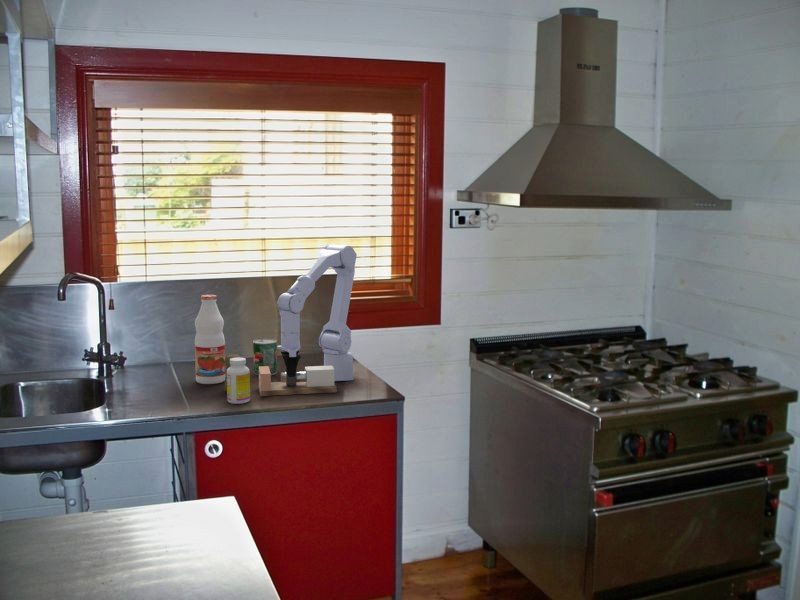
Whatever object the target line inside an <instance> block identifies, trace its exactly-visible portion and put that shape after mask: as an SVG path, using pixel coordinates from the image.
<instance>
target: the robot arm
mask: <svg viewBox="0 0 800 600" xmlns="http://www.w3.org/2000/svg"><path fill="white" fill-rule="evenodd" d="M356 260H357V252H356V251H355V249H354V247H353V246H351V245H338V244H333V243H331V244H330V243H329V244H325V245H324V247H323V249H321V250H320V253H319V257H318V258H317V260H316V262H315V263H314V264H313V266H312V267H311V268H310V269H309V271H308V273H306V274H305V275H301V276H298V277H297V279H296V281H295V282H294V283H293V285H291V287H290V288H289V289H288V290H287V292H284V293H282V294H281V295H279V297H278V298H277V301H276V303H275V305H276V307H277V309H278V310H279V311H278V312H279V316H280V345H277V350H280V353H281V356H282V359H283V361H284V365H285V364H286V369H287V375H288V377H295V374H296V372H297V368H298V365H299V361H300V359H301V357H302V356H301V355H302V354H299V353H300V350H301V341H300V340H301V339H300V338H301V335H300V334H301V331H300V328H301V326H300V325H301V324H300V319H301V317H300V315H301V314H300V312H301V311H302V310H303V309H304V306H305V302H306V299H307V298H308V297H309V296H310V294H311V293H312V292H313V291H314V290H315V288H316V282H317V281H318V280H319V279H320V278H321V277H322V276H323V275H324V274H325V273H326V272H327V271H328V270H329V269H330V268H331V269H333V270H334V272H335V273H336V275H337V276H336V281H335V285H334V292H333V298H332V306H331V310H330V316H329V321H328V322H327V323H326V324H324V325H323V326H322V331H321V333H320V335H319V336H318V344H319V346H320V348H321V349H322V352H323V353H324V354H323V356H324V357H323V366H333V368H334V382H342V381H344V382H345V381H354V358H353V357H354V355H353V352H352V351H349V350H350V348H351V346H352V330H351V329H350V328H349V326H348V325H347V319H348V313H349V308H350V301H351V297H352V290H353V284H354V279H355V274H356V273H355V271H356V270H355V267H356Z"/></svg>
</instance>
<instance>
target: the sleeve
mask: <svg viewBox="0 0 800 600" xmlns="http://www.w3.org/2000/svg"><path fill="white" fill-rule="evenodd" d="M304 372H307V382H305V384H306V386H307V387H316V386H334V384H335V381H334V368H333V366H324V365H314V366H313V365H312V366H305V367H304Z"/></svg>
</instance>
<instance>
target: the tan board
mask: <svg viewBox="0 0 800 600" xmlns="http://www.w3.org/2000/svg"><path fill="white" fill-rule="evenodd" d="M257 384H258V388H257V389H258V391H259V396H260V397H266V396H267V397H268V396H269V397H270V396H283V395H284V396H285V395H288V396H290V395H303V394H304V395H306V394H307V395H310V394H328V393H337V392H338V389H337V388H338V387H337V386H336V384H335V383H334V386H316V387H307V386H306V384H305V382H296V386H286V383H281V381H271V391H261V389H260V385H259V382H258V383H257Z"/></svg>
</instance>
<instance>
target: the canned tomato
mask: <svg viewBox="0 0 800 600" xmlns="http://www.w3.org/2000/svg"><path fill="white" fill-rule="evenodd" d="M277 343H278V342H277V340H276V339H273V338H259V339H258V338H257V339H253V340H252V351H253V352H252V354H253V374H254V375H256V376H259V366H269V370H270V373H271V376H273V375H274V376H275V375H276V374H277V373H278V362H277V361H278V360H277V359H278V358H277V357H278V355H277V354H278V353H277V352H278V351H277V350H278V348H277V346H278V345H277Z"/></svg>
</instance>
